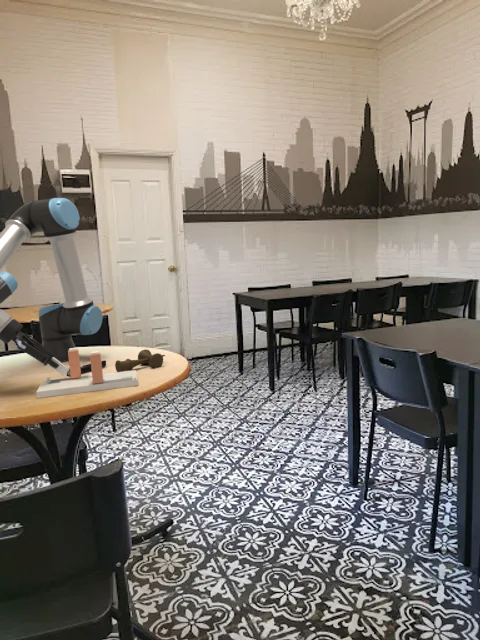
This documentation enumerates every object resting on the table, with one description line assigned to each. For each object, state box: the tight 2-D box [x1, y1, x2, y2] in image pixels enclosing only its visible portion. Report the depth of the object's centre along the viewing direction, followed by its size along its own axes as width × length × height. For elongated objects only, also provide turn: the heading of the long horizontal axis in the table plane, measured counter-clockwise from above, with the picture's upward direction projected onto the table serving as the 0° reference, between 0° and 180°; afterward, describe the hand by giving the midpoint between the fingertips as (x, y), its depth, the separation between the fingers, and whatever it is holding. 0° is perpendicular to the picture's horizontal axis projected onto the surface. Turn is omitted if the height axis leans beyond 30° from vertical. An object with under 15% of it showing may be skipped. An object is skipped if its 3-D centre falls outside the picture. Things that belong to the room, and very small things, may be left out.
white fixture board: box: [36, 369, 139, 399], centre depth 151 cm, size 14×30×3 cm, turn 105°
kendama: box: [114, 349, 166, 372], centre depth 171 cm, size 6×10×20 cm
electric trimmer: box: [66, 360, 107, 378], centre depth 171 cm, size 4×16×3 cm, turn 140°
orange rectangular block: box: [89, 350, 104, 384], centre depth 146 cm, size 3×3×10 cm
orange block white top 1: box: [68, 347, 82, 379], centre depth 153 cm, size 3×3×10 cm
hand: (66, 372), depth 153 cm, fingers closed
